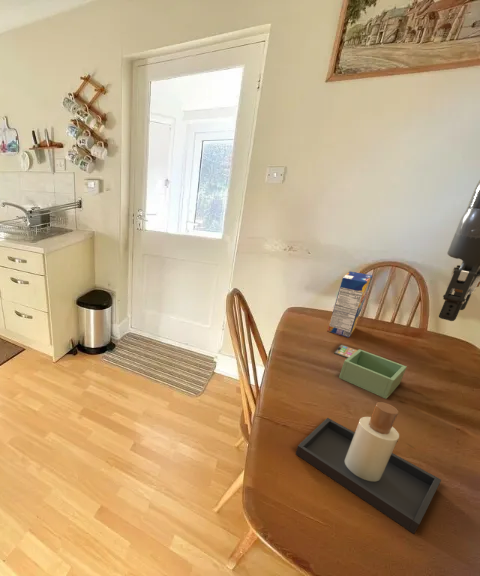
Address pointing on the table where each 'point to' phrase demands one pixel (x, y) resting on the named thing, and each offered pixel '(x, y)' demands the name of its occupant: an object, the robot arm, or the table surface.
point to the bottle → (373, 443)
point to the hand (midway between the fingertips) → (451, 313)
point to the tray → (381, 494)
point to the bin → (372, 373)
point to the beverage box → (349, 303)
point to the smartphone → (345, 351)
